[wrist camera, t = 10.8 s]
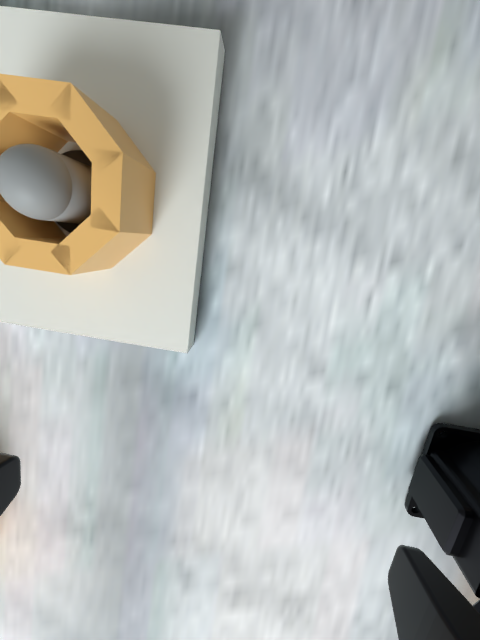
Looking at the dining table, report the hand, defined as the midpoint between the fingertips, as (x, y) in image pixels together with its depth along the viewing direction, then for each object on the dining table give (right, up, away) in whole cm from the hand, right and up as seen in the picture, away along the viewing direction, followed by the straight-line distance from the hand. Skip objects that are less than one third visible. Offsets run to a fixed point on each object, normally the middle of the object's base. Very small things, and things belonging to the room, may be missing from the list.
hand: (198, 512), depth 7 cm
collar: (-7, +11, +8) cm, 15 cm away
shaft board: (-7, +11, +10) cm, 16 cm away
